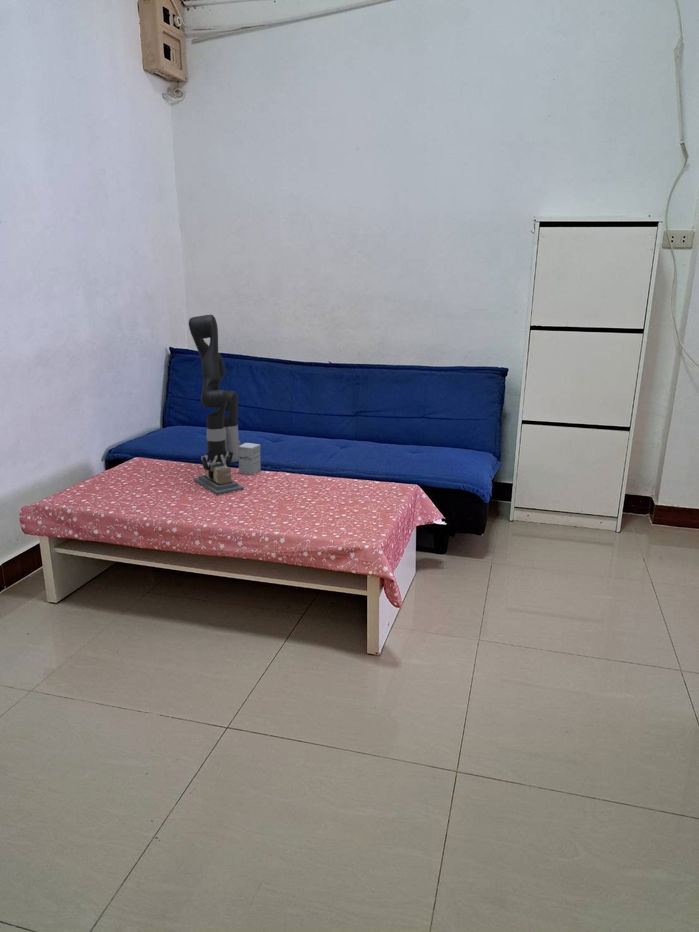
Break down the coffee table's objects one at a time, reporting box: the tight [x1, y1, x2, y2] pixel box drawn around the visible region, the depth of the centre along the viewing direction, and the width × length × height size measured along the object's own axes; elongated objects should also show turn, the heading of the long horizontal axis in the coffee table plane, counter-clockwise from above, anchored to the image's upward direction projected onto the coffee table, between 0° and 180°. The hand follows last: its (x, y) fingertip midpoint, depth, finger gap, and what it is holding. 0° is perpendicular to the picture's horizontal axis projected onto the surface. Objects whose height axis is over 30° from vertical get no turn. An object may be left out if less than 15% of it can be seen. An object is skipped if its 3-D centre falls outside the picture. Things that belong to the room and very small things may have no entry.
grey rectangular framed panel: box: [193, 474, 244, 496], centre depth 276 cm, size 22×12×3 cm, turn 37°
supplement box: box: [238, 442, 262, 476], centre depth 293 cm, size 7×7×13 cm
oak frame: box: [204, 461, 232, 485], centre depth 275 cm, size 14×5×6 cm, turn 37°
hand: (217, 477), depth 275 cm, fingers closed on oak frame, 5 cm apart
